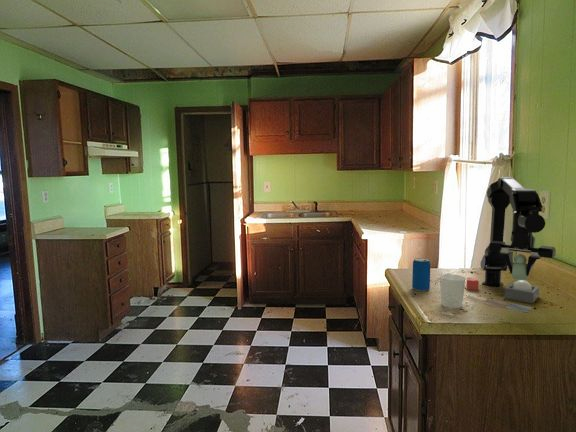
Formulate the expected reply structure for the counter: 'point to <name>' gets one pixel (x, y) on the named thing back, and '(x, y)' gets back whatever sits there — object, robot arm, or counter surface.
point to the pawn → (519, 267)
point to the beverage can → (421, 274)
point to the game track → (498, 303)
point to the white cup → (452, 290)
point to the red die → (472, 283)
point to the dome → (522, 285)
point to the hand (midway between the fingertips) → (519, 274)
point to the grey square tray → (521, 294)
